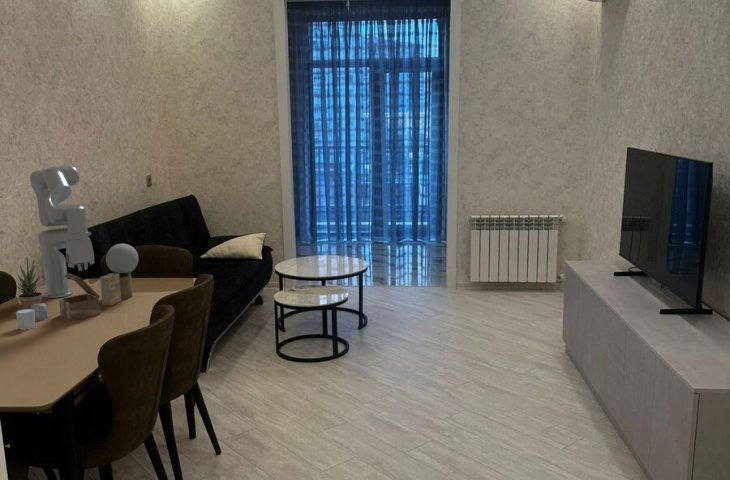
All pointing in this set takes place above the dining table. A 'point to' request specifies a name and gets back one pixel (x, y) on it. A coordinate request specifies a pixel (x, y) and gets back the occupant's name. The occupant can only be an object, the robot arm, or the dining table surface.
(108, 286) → the supplement box
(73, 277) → the lid
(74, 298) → the box
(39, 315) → the tape roll
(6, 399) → the dining table surface
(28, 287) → the potted plant
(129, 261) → the lamp
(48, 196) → the robot arm
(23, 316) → the white cylinder
